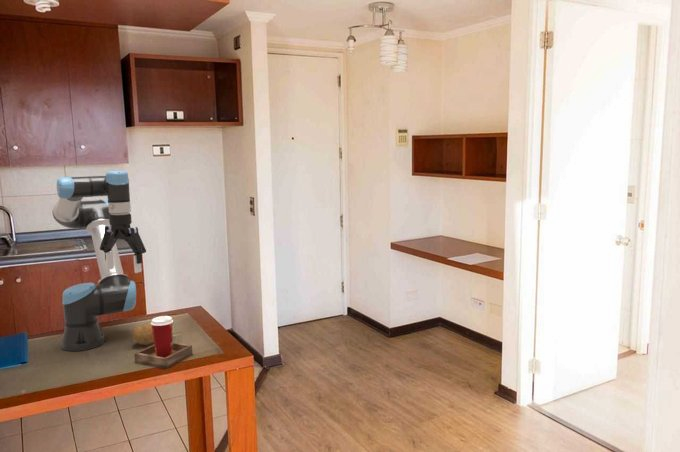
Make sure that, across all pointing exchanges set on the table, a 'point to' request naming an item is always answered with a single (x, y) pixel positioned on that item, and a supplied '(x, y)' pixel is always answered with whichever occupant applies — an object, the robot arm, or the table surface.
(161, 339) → the paper cup
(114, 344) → the table surface
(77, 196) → the robot arm
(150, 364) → the tray
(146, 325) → the potato
